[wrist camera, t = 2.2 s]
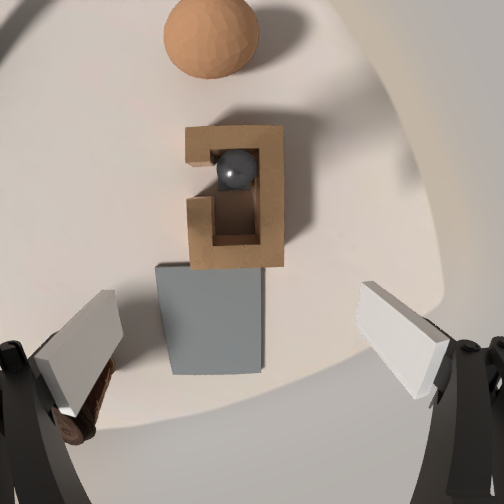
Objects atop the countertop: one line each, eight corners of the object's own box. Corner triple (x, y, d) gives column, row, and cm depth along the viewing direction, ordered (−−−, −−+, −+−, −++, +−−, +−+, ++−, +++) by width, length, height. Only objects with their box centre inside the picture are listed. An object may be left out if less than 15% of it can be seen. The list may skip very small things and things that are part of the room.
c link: (193, 137, 25) (185, 127, 20) (273, 136, 25) (283, 125, 21) (197, 255, 28) (190, 270, 23) (274, 252, 28) (283, 266, 24)
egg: (164, 85, 23) (130, 35, 12) (190, 26, 21) (176, -36, 11) (240, 100, 24) (248, 50, 13) (262, 40, 23) (279, -22, 12)
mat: (156, 266, 28) (154, 267, 27) (260, 262, 28) (260, 264, 28) (173, 371, 31) (172, 374, 30) (260, 369, 32) (261, 372, 31)
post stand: (218, 160, 26) (212, 146, 16) (248, 160, 26) (260, 145, 16) (218, 190, 26) (213, 193, 17) (249, 189, 27) (261, 191, 17)
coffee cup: (70, 370, 30) (31, 428, 18) (65, 324, 28) (13, 381, 16) (122, 390, 31) (94, 458, 19) (122, 345, 30) (83, 417, 17)
